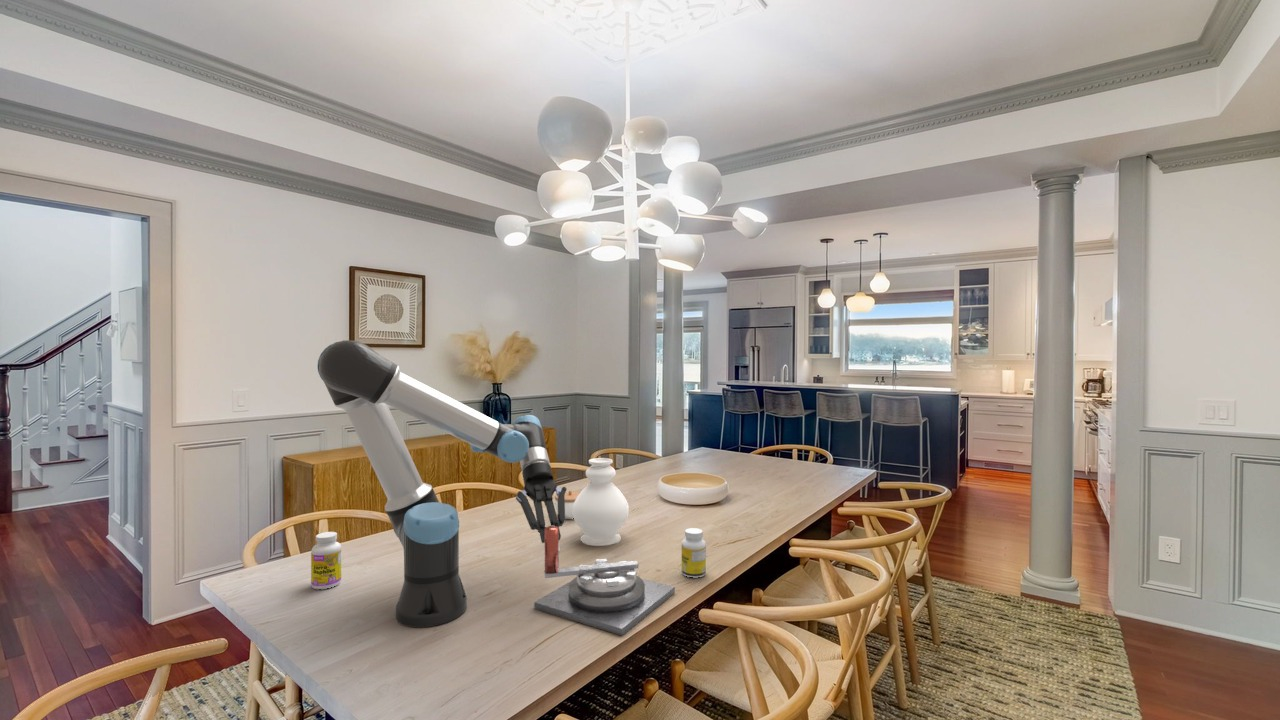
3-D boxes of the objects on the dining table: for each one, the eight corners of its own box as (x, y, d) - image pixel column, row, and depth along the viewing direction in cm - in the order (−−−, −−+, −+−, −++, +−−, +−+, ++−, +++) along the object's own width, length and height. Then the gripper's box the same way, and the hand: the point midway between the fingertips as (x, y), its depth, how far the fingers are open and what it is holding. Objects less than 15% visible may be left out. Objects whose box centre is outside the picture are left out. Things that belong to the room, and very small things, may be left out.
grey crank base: (622, 635, 116) (622, 618, 116) (534, 608, 128) (534, 592, 128) (674, 593, 137) (674, 578, 137) (594, 573, 149) (594, 559, 149)
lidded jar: (549, 519, 197) (549, 492, 197) (564, 511, 207) (564, 485, 206) (575, 522, 193) (575, 495, 192) (590, 514, 202) (590, 488, 202)
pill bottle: (682, 568, 152) (682, 526, 152) (706, 570, 151) (706, 527, 151) (680, 578, 146) (680, 533, 145) (705, 579, 145) (705, 535, 144)
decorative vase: (635, 532, 182) (635, 456, 182) (618, 551, 165) (618, 467, 164) (584, 528, 187) (584, 453, 186) (563, 546, 170) (563, 464, 169)
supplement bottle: (307, 591, 137) (307, 540, 137) (315, 581, 144) (315, 531, 143) (337, 588, 139) (337, 537, 139) (344, 578, 145) (344, 529, 145)
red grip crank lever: (629, 569, 141) (629, 512, 141) (645, 592, 128) (645, 530, 127) (541, 578, 135) (541, 519, 135) (547, 604, 122) (547, 538, 121)
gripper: (558, 473, 152) (577, 556, 138) (507, 478, 146) (522, 565, 131) (564, 458, 147) (585, 542, 133) (512, 462, 141) (528, 551, 126)
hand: (554, 553), depth 132 cm, fingers closed
